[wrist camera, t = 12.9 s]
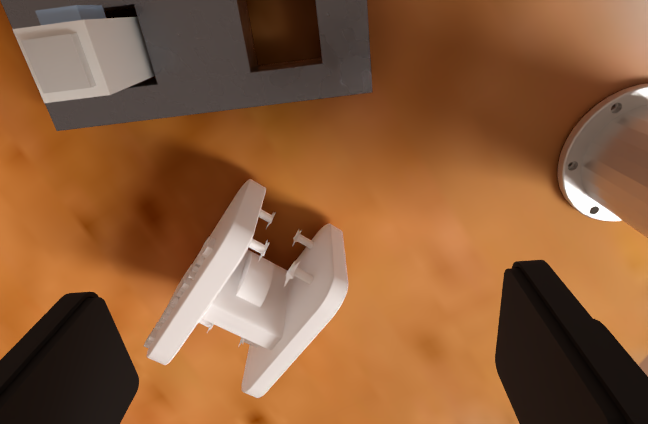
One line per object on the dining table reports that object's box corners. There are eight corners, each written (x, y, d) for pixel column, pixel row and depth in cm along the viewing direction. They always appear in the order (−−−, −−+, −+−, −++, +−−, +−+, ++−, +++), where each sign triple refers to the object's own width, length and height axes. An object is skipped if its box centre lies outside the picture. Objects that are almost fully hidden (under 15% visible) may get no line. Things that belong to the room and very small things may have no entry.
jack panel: (356, -68, 28) (362, -79, 24) (366, 82, 33) (372, 92, 29) (29, -22, 29) (-14, -27, 25) (84, 117, 34) (55, 131, 30)
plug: (148, 4, 30) (71, 2, 21) (167, 70, 32) (105, 97, 23) (96, 10, 30) (-3, 12, 21) (119, 76, 32) (38, 105, 23)
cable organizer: (265, 320, 44) (250, 414, 34) (177, 277, 42) (131, 366, 31) (343, 221, 39) (353, 299, 29) (248, 164, 36) (220, 228, 26)
